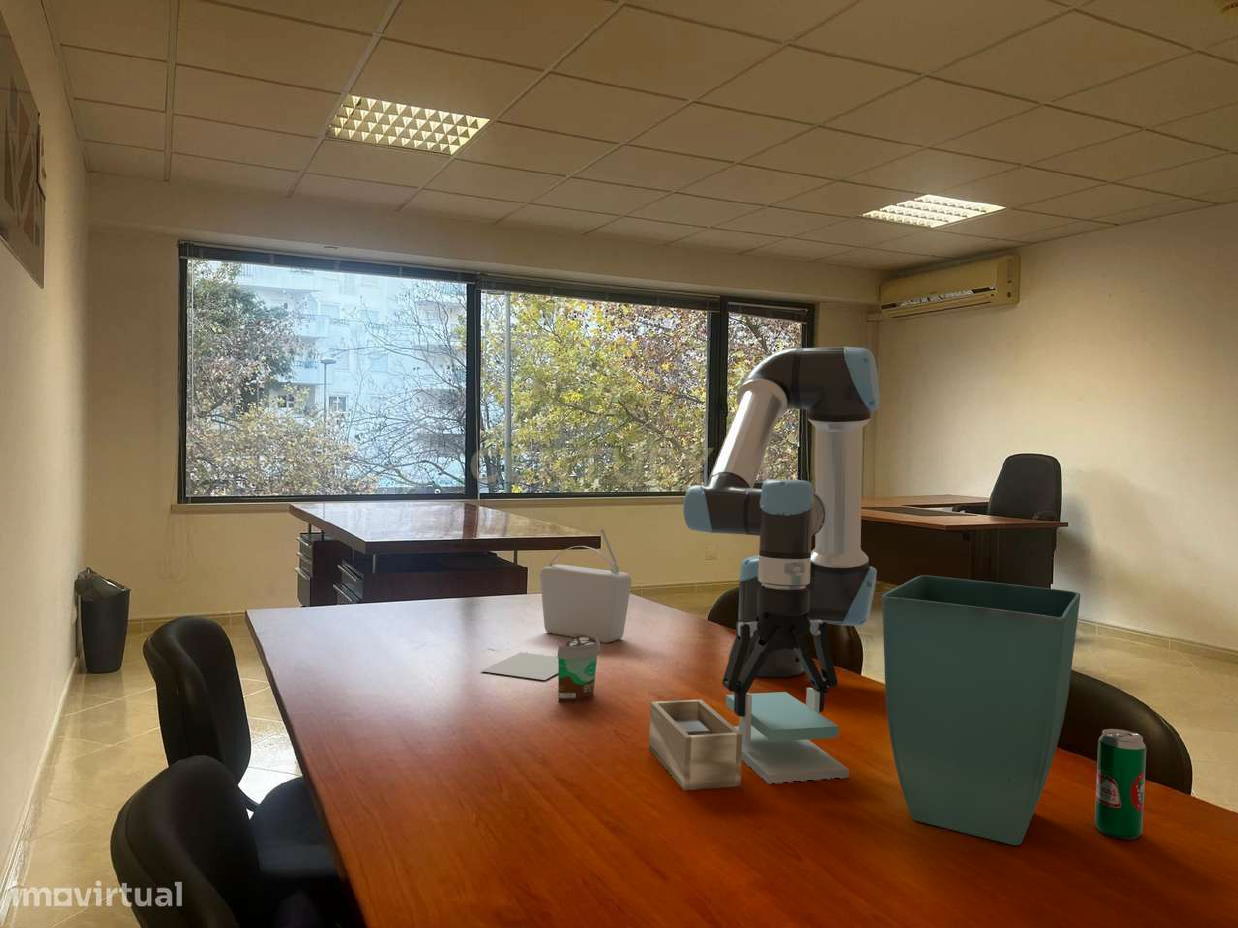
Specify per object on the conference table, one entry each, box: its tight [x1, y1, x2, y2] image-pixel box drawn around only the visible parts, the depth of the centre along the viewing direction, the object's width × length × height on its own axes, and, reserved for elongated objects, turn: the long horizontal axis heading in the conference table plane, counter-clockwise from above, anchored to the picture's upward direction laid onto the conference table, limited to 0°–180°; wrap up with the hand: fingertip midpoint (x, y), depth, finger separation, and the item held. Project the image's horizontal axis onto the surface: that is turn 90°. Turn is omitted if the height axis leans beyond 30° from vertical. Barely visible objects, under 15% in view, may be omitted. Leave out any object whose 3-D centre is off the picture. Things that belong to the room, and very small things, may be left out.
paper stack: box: [480, 651, 558, 681], centre depth 184 cm, size 23×25×1 cm
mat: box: [733, 725, 850, 785], centre depth 132 cm, size 12×20×1 cm, turn 15°
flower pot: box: [881, 575, 1081, 846], centre depth 111 cm, size 20×20×28 cm
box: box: [648, 698, 743, 791], centre depth 127 cm, size 8×16×7 cm, turn 15°
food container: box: [556, 632, 602, 703], centre depth 159 cm, size 12×6×10 cm, turn 168°
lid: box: [725, 691, 840, 742], centre depth 132 cm, size 10×17×2 cm, turn 15°
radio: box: [539, 528, 632, 644], centre depth 207 cm, size 22×8×25 cm, turn 58°
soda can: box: [1094, 728, 1147, 841], centre depth 109 cm, size 5×5×12 cm
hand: (778, 735), depth 132 cm, fingers closed on lid, 10 cm apart
